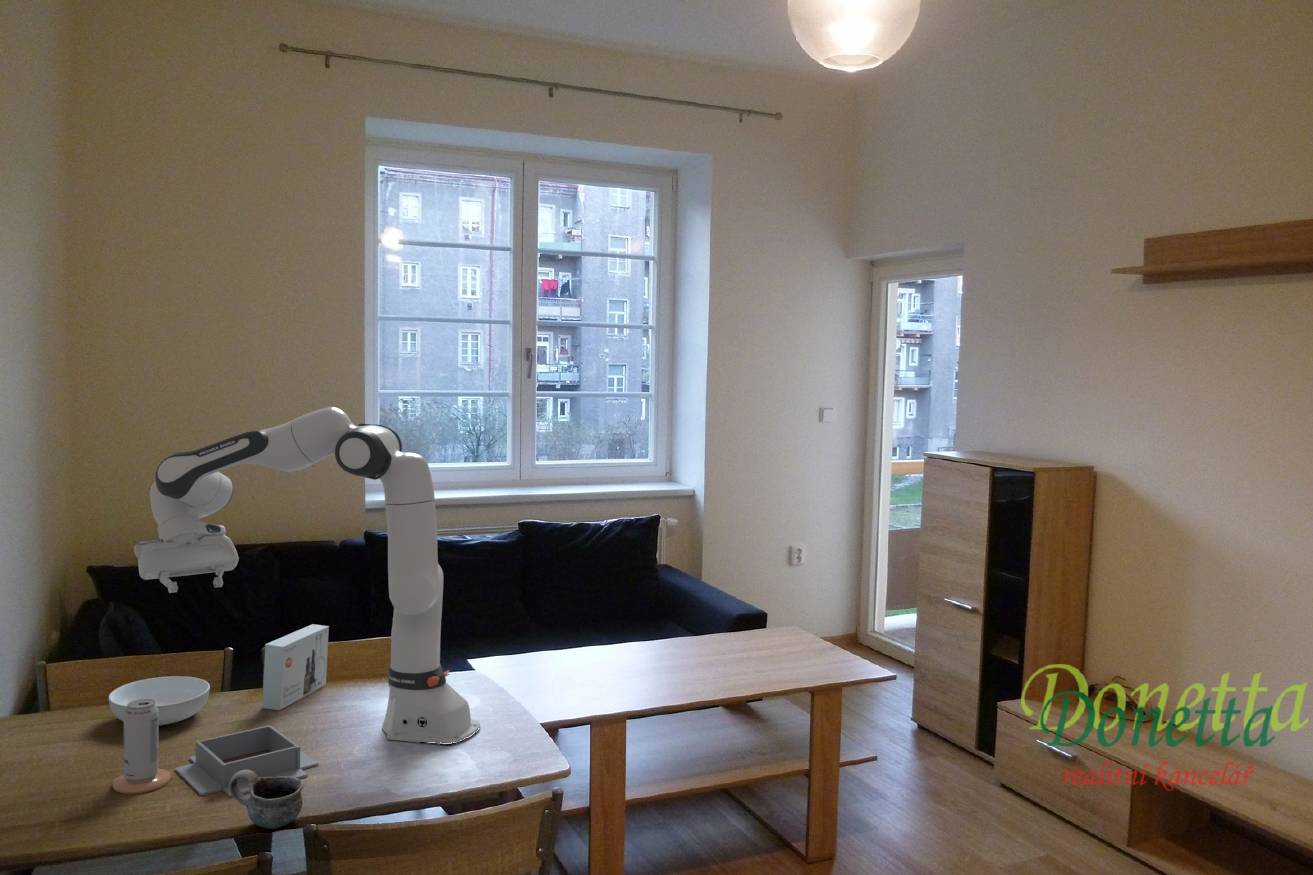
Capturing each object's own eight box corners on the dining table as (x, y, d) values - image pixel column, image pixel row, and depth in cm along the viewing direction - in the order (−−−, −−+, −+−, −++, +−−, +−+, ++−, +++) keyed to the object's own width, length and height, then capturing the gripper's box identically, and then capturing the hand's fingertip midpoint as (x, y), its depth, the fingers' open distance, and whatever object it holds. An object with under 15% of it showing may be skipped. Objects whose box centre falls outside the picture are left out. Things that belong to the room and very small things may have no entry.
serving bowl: (86, 726, 216) (86, 696, 216) (164, 699, 236) (164, 671, 235) (155, 742, 209) (156, 711, 208) (230, 712, 228) (230, 683, 228)
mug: (301, 833, 170) (302, 778, 170) (225, 841, 167) (225, 785, 166) (304, 809, 180) (305, 757, 179) (231, 816, 176) (232, 763, 175)
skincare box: (281, 711, 230) (282, 646, 229) (261, 709, 231) (261, 644, 230) (328, 684, 251) (329, 624, 250) (309, 682, 252) (310, 623, 251)
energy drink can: (127, 773, 190) (127, 699, 190) (160, 770, 192) (161, 697, 191) (120, 786, 185) (120, 709, 184) (154, 783, 187) (155, 707, 186)
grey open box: (281, 738, 213) (281, 716, 213) (326, 771, 197) (327, 747, 196) (168, 764, 198) (168, 740, 197) (208, 803, 181) (208, 777, 180)
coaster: (182, 777, 191) (182, 773, 191) (139, 797, 182) (139, 793, 182) (144, 769, 195) (144, 765, 195) (100, 788, 185) (100, 784, 185)
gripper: (134, 533, 208) (148, 586, 202) (231, 525, 222) (247, 574, 216) (128, 550, 212) (141, 603, 205) (224, 542, 226) (239, 590, 219)
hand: (196, 588), depth 211 cm, fingers open, 8 cm apart
